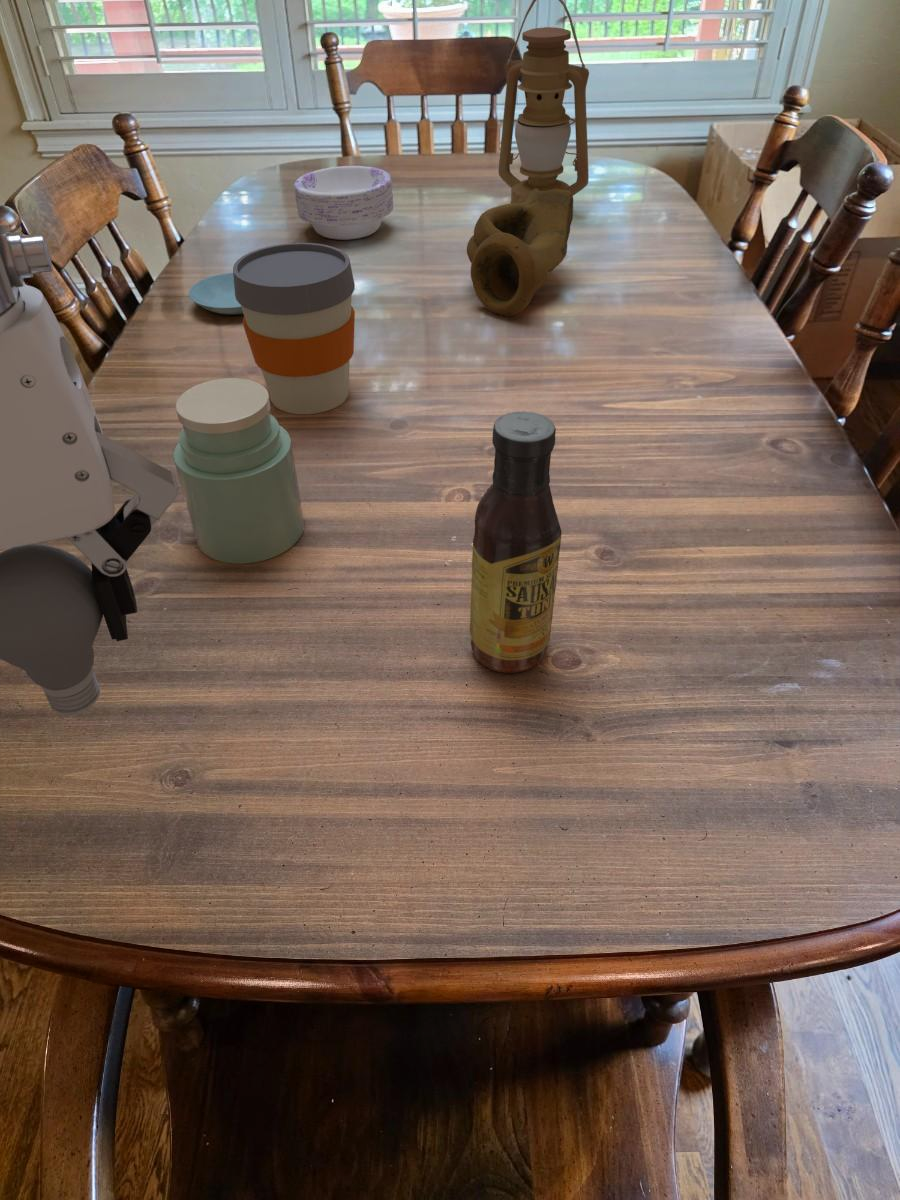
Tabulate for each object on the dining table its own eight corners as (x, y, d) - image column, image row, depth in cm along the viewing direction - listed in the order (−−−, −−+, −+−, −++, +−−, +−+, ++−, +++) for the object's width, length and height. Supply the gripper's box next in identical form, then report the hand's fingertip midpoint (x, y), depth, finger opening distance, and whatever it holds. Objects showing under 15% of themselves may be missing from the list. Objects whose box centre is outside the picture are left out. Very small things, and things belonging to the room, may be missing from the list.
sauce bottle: (508, 690, 65) (517, 466, 52) (453, 647, 69) (449, 427, 55) (568, 649, 68) (591, 428, 55) (512, 609, 72) (521, 392, 59)
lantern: (588, 202, 148) (605, -12, 128) (584, 223, 140) (602, -1, 120) (500, 199, 150) (504, -12, 130) (491, 219, 142) (494, -2, 122)
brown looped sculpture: (636, 220, 119) (551, 239, 104) (595, 303, 128) (511, 332, 113) (535, 153, 124) (440, 162, 109) (502, 238, 133) (410, 257, 118)
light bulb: (43, 660, 49) (-19, 517, 42) (148, 663, 49) (102, 520, 42) (-1, 744, 45) (-79, 599, 38) (114, 747, 44) (57, 602, 38)
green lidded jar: (173, 546, 79) (134, 415, 70) (239, 489, 86) (211, 362, 77) (263, 576, 76) (235, 442, 67) (324, 514, 82) (306, 384, 73)
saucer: (288, 288, 123) (286, 272, 121) (267, 324, 114) (264, 307, 112) (207, 286, 124) (204, 270, 122) (180, 322, 115) (176, 305, 113)
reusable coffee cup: (306, 359, 106) (288, 234, 96) (386, 386, 101) (377, 256, 91) (231, 402, 99) (204, 270, 89) (314, 434, 93) (294, 298, 83)
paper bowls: (292, 221, 143) (285, 169, 138) (381, 210, 147) (378, 159, 141) (309, 253, 132) (302, 198, 127) (405, 240, 136) (402, 187, 130)
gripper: (139, 224, 36) (214, 558, 48) (-343, 273, 32) (-129, 626, 44) (153, 292, 31) (234, 649, 43) (-421, 361, 27) (-154, 735, 39)
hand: (49, 635), depth 43 cm, fingers closed on light bulb, 6 cm apart
